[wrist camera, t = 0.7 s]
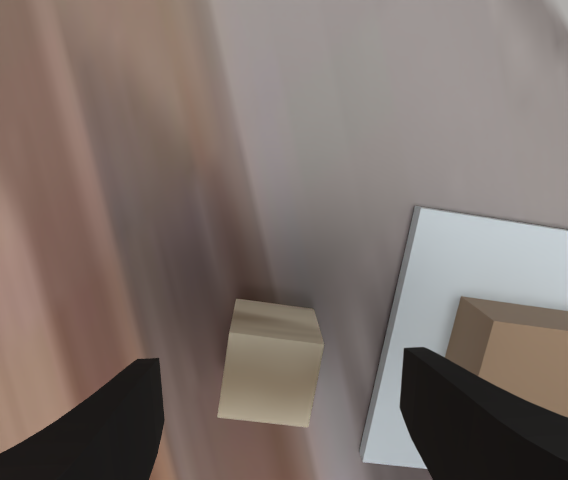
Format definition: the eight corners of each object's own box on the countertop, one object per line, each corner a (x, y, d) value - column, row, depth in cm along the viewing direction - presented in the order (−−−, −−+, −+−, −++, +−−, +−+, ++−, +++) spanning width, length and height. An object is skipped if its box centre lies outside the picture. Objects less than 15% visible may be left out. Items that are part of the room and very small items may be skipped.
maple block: (300, 377, 22) (308, 427, 18) (226, 368, 22) (217, 417, 18) (313, 308, 21) (324, 344, 17) (236, 297, 21) (229, 332, 17)
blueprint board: (559, 472, 24) (613, 532, 20) (359, 451, 23) (377, 509, 19) (640, 240, 21) (720, 260, 17) (414, 205, 20) (449, 218, 16)
